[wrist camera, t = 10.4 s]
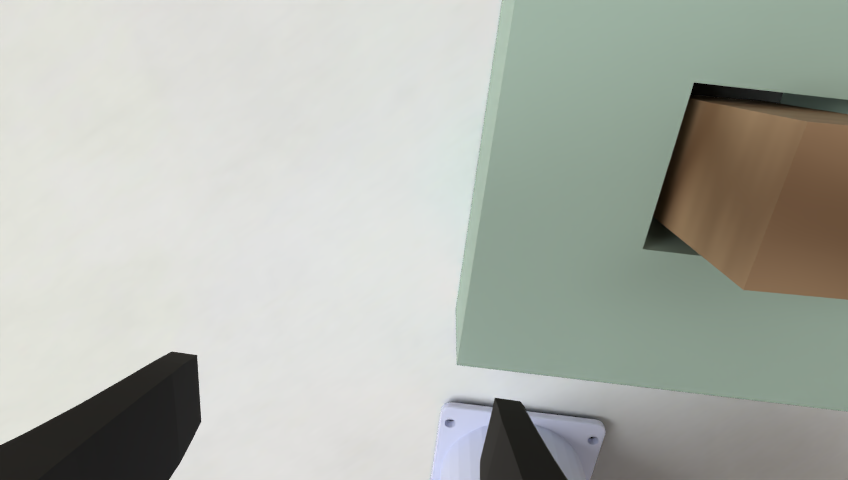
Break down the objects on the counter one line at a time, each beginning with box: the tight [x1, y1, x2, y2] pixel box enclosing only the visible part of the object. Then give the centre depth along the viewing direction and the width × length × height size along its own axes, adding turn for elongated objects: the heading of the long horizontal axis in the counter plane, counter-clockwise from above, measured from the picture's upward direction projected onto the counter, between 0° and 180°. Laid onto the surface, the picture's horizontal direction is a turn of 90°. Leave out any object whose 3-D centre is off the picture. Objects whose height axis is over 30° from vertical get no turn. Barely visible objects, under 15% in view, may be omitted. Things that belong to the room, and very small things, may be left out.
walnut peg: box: [653, 95, 848, 300], centre depth 14 cm, size 4×4×8 cm
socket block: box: [456, 0, 848, 412], centre depth 16 cm, size 16×16×4 cm
